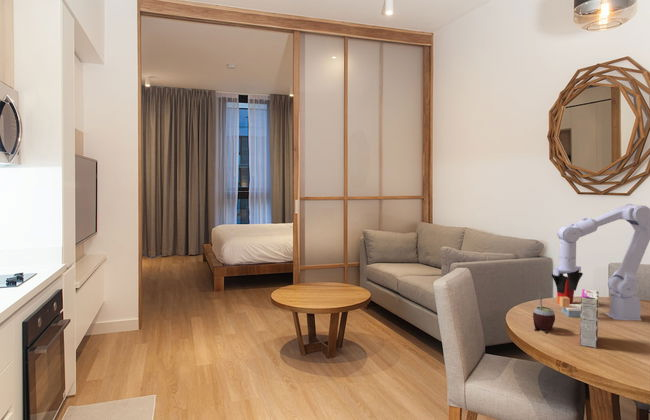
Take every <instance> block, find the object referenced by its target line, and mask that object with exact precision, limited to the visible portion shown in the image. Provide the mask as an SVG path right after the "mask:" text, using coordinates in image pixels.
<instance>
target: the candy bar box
mask: <svg viewBox="0 0 650 420" xmlns="http://www.w3.org/2000/svg"><path fill="white" fill-rule="evenodd" d="M580 304H581V317H580V333H579V334H580V336H579V338H580V339H579V340H580V341H579V344H580V346H582V347H587V348H594V349H597V348H598V333H599V332H598V331H599V330H598V329H599V327H598V326H599V290H595V289H587V288H585V289H584V288H582V290H581V296H580Z"/></svg>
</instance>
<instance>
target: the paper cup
mask: <svg viewBox="0 0 650 420" xmlns="http://www.w3.org/2000/svg"><path fill="white" fill-rule="evenodd" d="M563 275H564V276H566V277H568V275H567V273H566V274H563ZM574 293H575V291H574V290H570V288H569V279H568V278H567V280H566V283H565V290H564V293H558V291H557V290H556V297H557V299H556V300H557V304H558V305H560V297H568V298H570V304H574V296H575V294H574Z"/></svg>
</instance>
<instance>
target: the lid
mask: <svg viewBox="0 0 650 420" xmlns="http://www.w3.org/2000/svg"><path fill="white" fill-rule="evenodd" d="M559 306H560V307H561V308H562V307H564V308H565V309H567V310H568V311H581V303H580V304H578V303H577V304H575V303H573V304H570V298H568V297H560V304H559Z"/></svg>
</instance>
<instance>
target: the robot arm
mask: <svg viewBox="0 0 650 420" xmlns="http://www.w3.org/2000/svg"><path fill="white" fill-rule="evenodd" d="M619 220H625V221H626V222H628V223H629V224H630V225H631V227H632V228H633V230H634V232H633V234H632V237H631V240H630V243H629V245H628V247H627V250H626V251H625V254H624V257H623V259H622V262H621V264H620V267H619V268H618V269H616V270H615V271H614V273H613V274H612V276H610V277H609V279H608V280H607V287H608V288H609V289H610V296H609V312H605V313H604V314H605V315H607V316H608V317H610V318H612V319H613V320H616V321H617V320H618V321H620V320H621V321H639V322H641V321H642V319H641V309H642V304H641V303H642V302H641V299H640V298H639V296H638V295H636V293H637V292H638V282H639V279H638V277H637V272H638V270H639V267H640V265H641V262H642V259H643V258H644V255H645V253H646V250H647V248H648V246H649V242H650V207H648V205H639V204H638V205H637V204H632V203H628V204H625V205H621V206H619V207H616V208H614V209H612V210H611V211H608V212H605V213H604V214H601V215H599V216H597V217H595V218H592V217H581V220H580V221H576V222H574V223H573V222H571V223H569V226H568V225H564V226H562V227H560V228H559V229H558V230H557V233H556V236H557V238H558V239H559V247H558V248H559V250H558V251H559V252H558V253H559V254H558V255H559V256H558V262H559V263H558V266H556V268H555V269H553V270H552V272H553V273H551V278H552V279H553V282H554V284H555V286H556V292H557V291H558V293H564V290H565V283H566V280H567V278H568V279H569V288H570V290H574V292H575V291H576V290H577V288H578V284H579V282H580V280H581V278H582V276H583V275H584V273H583V272H581V271H582V266H580V265H577V241H579V239H580V238H582V237H585V236H587V235H590V234H592V233H594V232H596V231H597V230H598V229H599V227H601V226H604V225H607V224H610V223H612V222H615V221H619ZM566 273H567V275H568V277H566V276H564V275H563V274H566Z"/></svg>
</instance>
